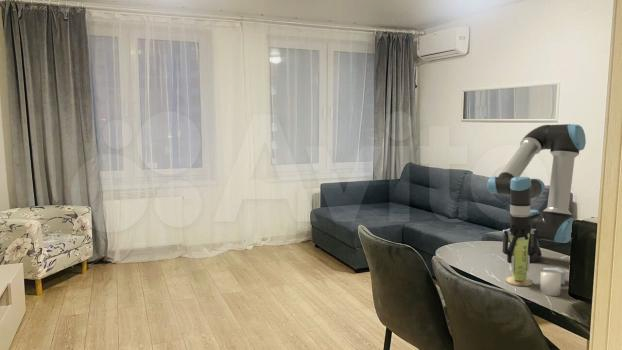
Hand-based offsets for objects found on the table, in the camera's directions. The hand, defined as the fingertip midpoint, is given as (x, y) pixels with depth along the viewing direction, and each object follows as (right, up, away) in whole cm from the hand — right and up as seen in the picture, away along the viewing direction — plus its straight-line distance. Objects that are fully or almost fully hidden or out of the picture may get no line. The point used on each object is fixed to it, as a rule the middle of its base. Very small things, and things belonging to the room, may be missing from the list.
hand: (519, 270), depth 187 cm
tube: (0, -4, 0) cm, 4 cm away
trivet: (0, -5, +1) cm, 5 cm away
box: (+14, -5, 0) cm, 15 cm away
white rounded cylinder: (+7, -6, -12) cm, 15 cm away
